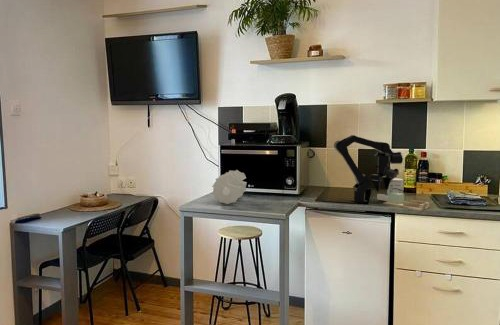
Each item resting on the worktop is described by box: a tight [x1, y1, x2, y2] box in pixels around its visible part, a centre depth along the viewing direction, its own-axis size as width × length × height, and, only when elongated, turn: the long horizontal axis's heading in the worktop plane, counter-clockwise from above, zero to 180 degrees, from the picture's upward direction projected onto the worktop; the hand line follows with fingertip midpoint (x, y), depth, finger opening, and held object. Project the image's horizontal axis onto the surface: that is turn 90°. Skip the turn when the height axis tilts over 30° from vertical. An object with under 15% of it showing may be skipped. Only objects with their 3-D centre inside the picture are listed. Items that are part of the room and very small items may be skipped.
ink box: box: [386, 177, 404, 195], centre depth 236 cm, size 9×5×12 cm, turn 62°
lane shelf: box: [382, 199, 431, 212], centre depth 215 cm, size 12×21×3 cm, turn 40°
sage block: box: [376, 192, 405, 204], centre depth 223 cm, size 5×15×5 cm, turn 40°
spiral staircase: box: [212, 169, 248, 205], centre depth 232 cm, size 18×18×25 cm
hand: (382, 190), depth 226 cm, fingers open, 9 cm apart
